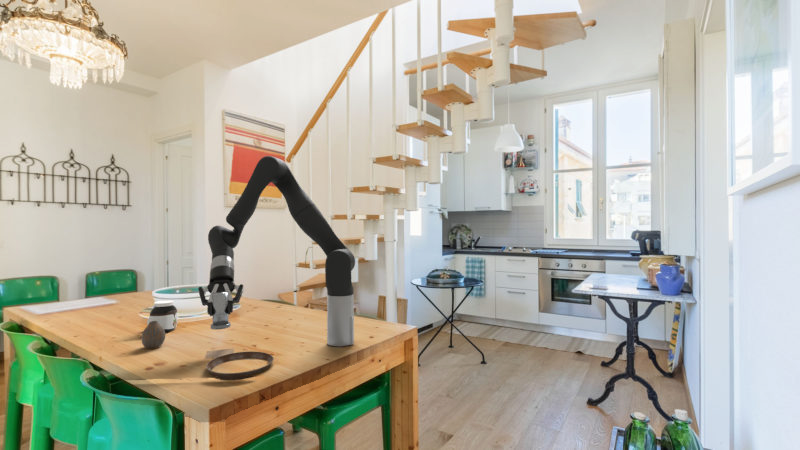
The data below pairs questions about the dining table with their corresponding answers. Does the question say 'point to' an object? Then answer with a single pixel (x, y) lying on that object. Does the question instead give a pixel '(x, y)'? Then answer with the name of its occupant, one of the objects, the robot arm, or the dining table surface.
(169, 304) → the spread jar
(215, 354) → the stand
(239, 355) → the brown shallow round tray
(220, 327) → the metal cylinder canister
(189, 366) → the dining table surface
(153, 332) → the dark brown oval lump
